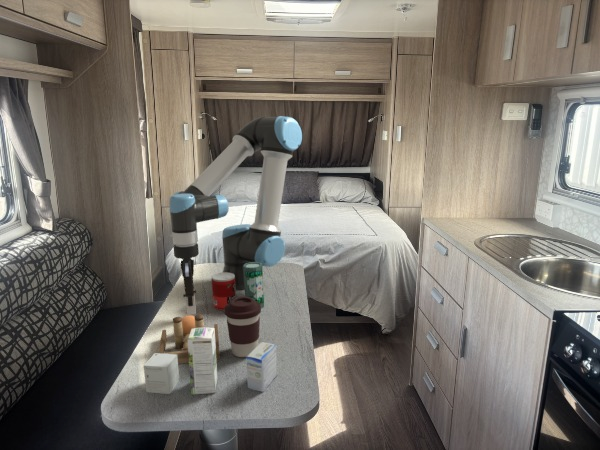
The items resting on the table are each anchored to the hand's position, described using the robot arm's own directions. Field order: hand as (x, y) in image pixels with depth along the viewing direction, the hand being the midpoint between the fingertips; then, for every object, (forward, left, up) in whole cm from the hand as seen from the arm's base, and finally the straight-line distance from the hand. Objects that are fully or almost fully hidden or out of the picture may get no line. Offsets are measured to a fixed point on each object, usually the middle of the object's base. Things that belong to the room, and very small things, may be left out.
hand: (191, 313), depth 146 cm
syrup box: (-4, +40, -2) cm, 40 cm away
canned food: (-11, -8, -2) cm, 14 cm away
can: (-21, -5, -2) cm, 22 cm away
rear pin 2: (-3, +18, -2) cm, 18 cm away
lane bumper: (0, +19, -2) cm, 19 cm away
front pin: (0, +15, -1) cm, 15 cm away
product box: (+6, +37, -2) cm, 38 cm away
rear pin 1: (+3, +18, -2) cm, 18 cm away
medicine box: (-18, +41, -2) cm, 45 cm away
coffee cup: (-15, +25, -2) cm, 29 cm away
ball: (0, +11, +1) cm, 11 cm away
